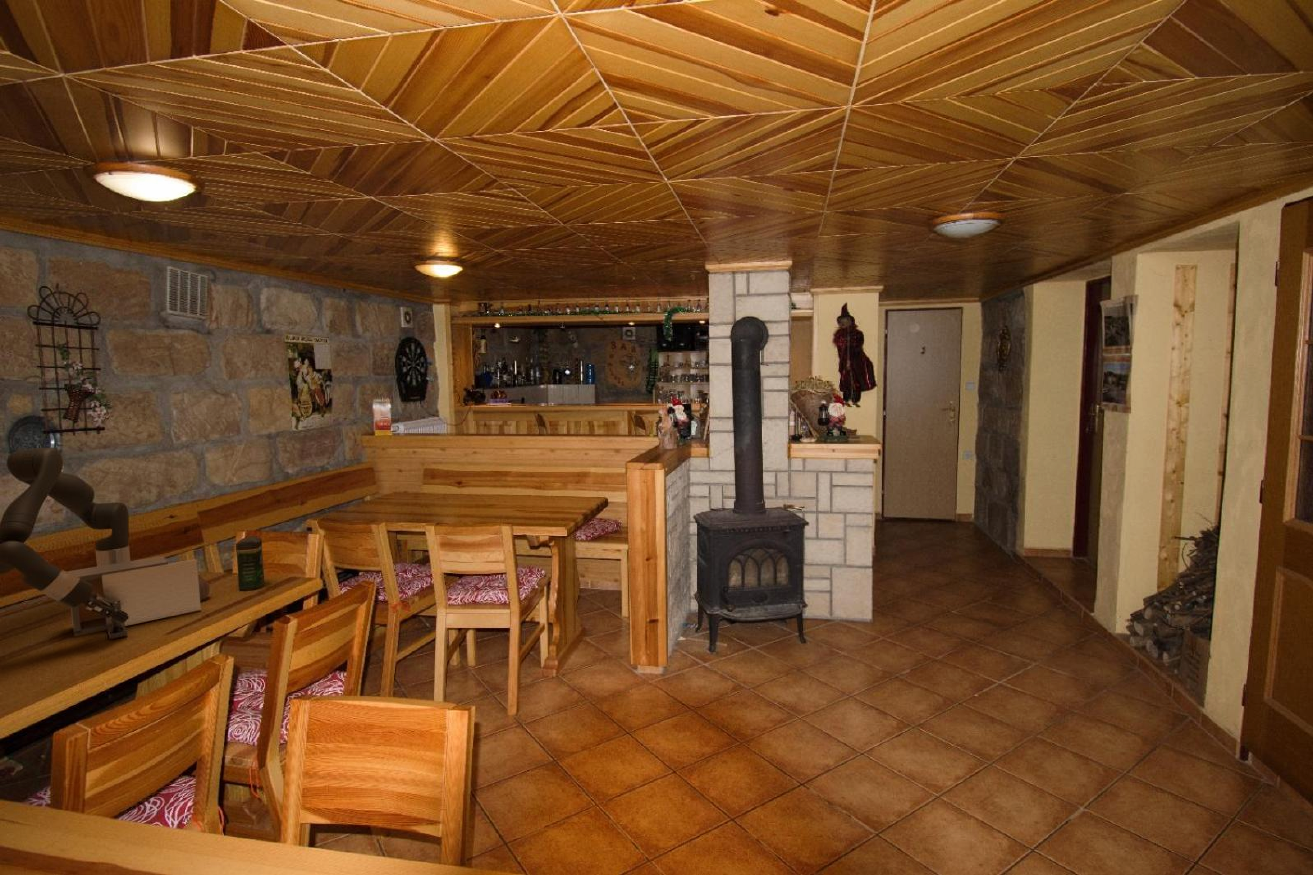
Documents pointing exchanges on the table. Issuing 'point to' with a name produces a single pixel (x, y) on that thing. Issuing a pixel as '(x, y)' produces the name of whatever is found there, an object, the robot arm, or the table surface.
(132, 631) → the table surface
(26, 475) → the robot arm
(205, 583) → the vase
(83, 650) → the table surface
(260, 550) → the coffee jar
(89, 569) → the block
